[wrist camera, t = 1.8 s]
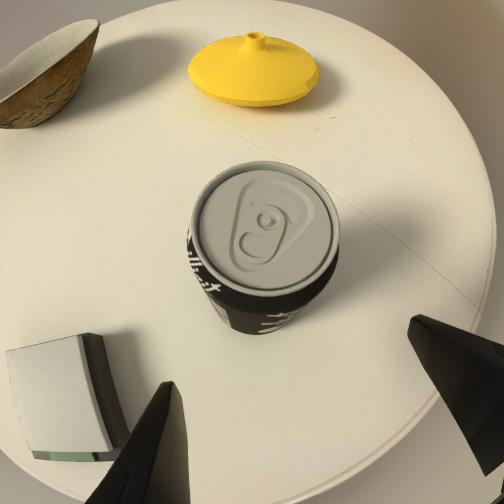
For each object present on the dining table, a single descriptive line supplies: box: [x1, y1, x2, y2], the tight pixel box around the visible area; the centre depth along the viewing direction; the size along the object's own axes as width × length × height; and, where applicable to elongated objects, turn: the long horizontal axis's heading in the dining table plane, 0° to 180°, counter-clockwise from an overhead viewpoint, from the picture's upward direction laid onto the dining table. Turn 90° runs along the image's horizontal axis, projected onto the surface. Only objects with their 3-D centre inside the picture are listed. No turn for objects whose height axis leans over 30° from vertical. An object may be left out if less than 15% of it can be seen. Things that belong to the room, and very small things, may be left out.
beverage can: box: [187, 161, 340, 335], centre depth 16 cm, size 7×7×12 cm
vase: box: [188, 32, 320, 107], centre depth 28 cm, size 16×16×7 cm
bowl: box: [0, 19, 100, 129], centre depth 27 cm, size 24×24×10 cm
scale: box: [6, 332, 130, 462], centre depth 16 cm, size 10×10×3 cm
